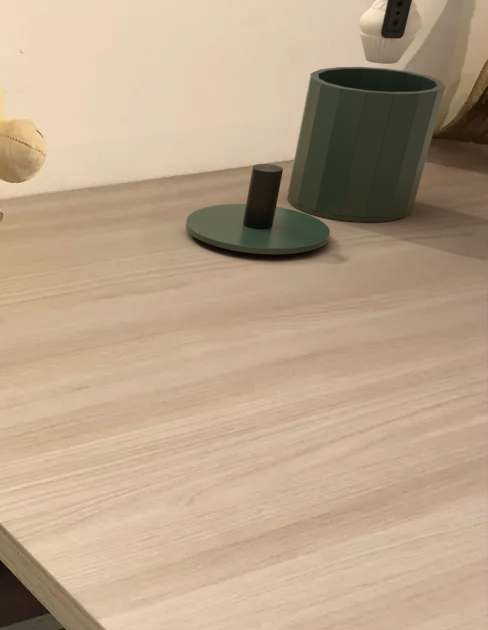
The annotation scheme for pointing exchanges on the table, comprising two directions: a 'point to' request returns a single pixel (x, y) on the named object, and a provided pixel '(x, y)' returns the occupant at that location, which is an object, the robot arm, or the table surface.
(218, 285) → the table surface
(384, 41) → the muffin
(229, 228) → the tin lid
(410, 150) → the tin
